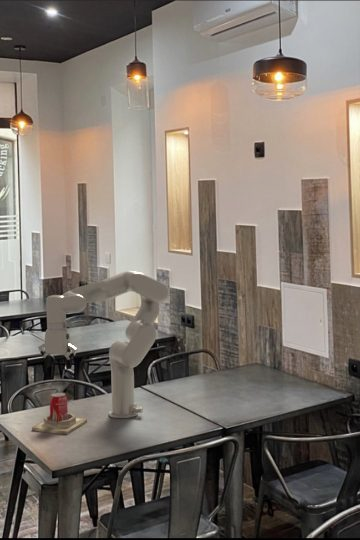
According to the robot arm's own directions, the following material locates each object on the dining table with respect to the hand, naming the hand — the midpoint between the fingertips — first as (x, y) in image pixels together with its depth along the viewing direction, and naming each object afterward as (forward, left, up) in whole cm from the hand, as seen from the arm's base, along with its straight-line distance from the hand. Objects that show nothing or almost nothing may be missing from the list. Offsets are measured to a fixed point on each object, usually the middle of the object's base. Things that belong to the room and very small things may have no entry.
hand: (58, 368), depth 264 cm
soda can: (+1, 0, -23) cm, 23 cm away
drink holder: (0, 0, -24) cm, 24 cm away
